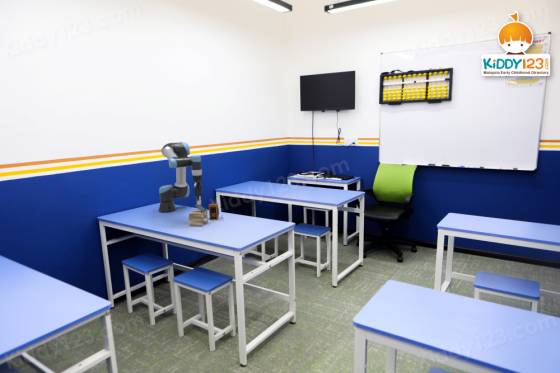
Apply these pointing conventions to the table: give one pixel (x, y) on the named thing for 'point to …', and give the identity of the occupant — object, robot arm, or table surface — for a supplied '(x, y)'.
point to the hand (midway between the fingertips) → (199, 204)
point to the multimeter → (213, 210)
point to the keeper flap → (200, 207)
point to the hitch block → (197, 217)
